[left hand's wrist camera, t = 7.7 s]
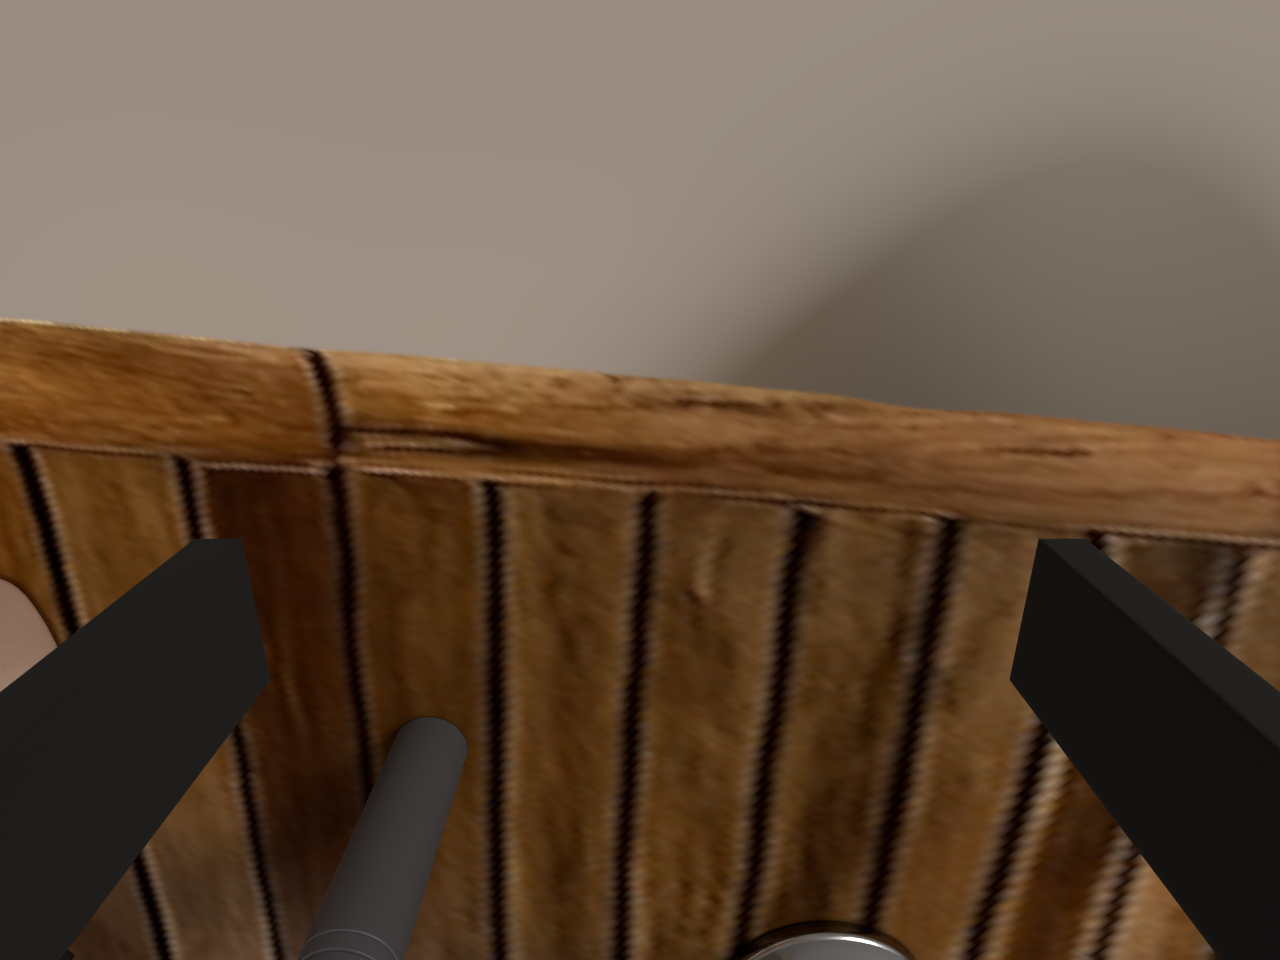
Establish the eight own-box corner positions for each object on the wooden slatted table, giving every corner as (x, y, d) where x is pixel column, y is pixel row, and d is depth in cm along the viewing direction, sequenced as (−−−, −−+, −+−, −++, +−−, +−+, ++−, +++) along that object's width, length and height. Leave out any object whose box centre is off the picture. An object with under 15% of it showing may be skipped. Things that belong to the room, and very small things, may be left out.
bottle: (468, 719, 48) (348, 1094, 28) (466, 777, 49) (350, 1170, 30) (395, 712, 48) (221, 1085, 28) (395, 770, 49) (230, 1162, 29)
